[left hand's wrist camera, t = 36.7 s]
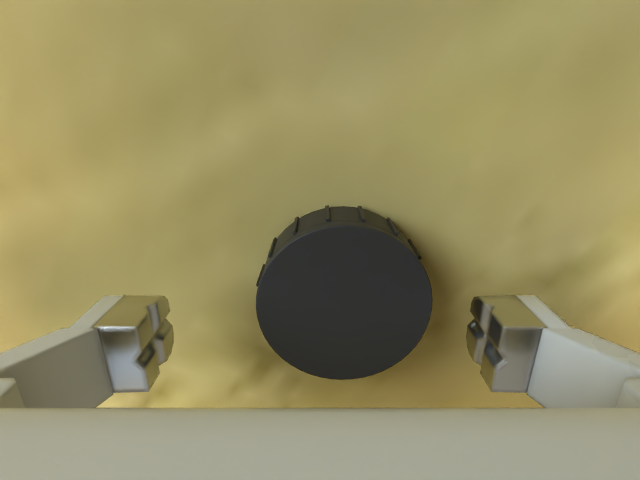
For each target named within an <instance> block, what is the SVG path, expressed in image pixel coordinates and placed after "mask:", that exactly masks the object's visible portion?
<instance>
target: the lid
mask: <svg viewBox="0 0 640 480" xmlns="http://www.w3.org/2000/svg"><path fill="white" fill-rule="evenodd" d="M420 259H421V256H420V255H419V253H418V252H417V250H416V248H415V247H414V245H413V244H412V242H411V240H410V239H409V240H407V239H406V238H405V236H404V235H403V234H402V233H401V231H400V230H399V229H398V228H397V227H395V226H394V224H393V222H392V221H391V219H390V218H387V220H386V219H385V218H384V217H382V216H380V215H378V214H376V213H373V212H370V211H367V210H365V209H362V206H358V208H355V207H330V208H329V205H328V206H325V209H320V210H317V211H314V212H311V213H309V214H307V215H305V216H303V217H301V218H299V217H296V218H295V222H293V223H292V224H291V225H290V226H288V227H287V228H286V229H285V230H284V231H283V232H282V233H281V235H280V236H279V237H278V238H274V240H273V243H272V245H271V248H270V251H269V254H268V258H267V261H266V264H263V267H262V270H261V272H260V275H259V278H258V281H257V285H256V286H258V289H257V295H256V311H257V318H258V322H259V325H260V328H261V330H262V332H263V335H264V337H265V338H266V340H267V341H268V343H269V345H270V346H271V347H272V348H273V350H274V351H275V352H276V353H277V354H278V355H279V356H280V357H281V358H282V359H284V360H285V361H286V362H288V363H289V364H290V365H292V366H294V367H296V368H297V369H299V370H301V371H304V372H306V373H308V374H311V375H315V376H318V377H322V378H328V379H339V380H344V379H356V378H363V377H367V376H371V375H374V374H376V373H379V372H382V371H384V370H386V369H388V368H390V367H392V366H393V365H395V364H396V363H398V362H399V361H401V360H402V359H403V358H404V357H406V356H407V355H408V354H409V353H410V352H411V351H412V350H413V349H414V348H415V346H416V345H417V344H418V342H419V341H420V339H421V338H422V336H423V334H424V332H425V330H426V328H427V325H428V323H429V320H430V315H431V311H432V290H431V285H430V281H429V278H428V276H427V273H426V271H425V269H424V267H423V265H422V264H421V262H420V261H419V260H420Z"/></svg>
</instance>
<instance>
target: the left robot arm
mask: <svg viewBox="0 0 640 480" xmlns="http://www.w3.org/2000/svg"><path fill="white" fill-rule="evenodd" d="M169 312H170V308H169V303H168V300H167V298H166V297H165V296H139V295H127V296H126V295H108V296H104V297H102V298H101V299H100V300H99V301H98V302H97V303H96V304H95V305H94V306H93V307H91V308H90V309H89V310H88V311H87V312H86V313H85V314H84V315H83V316H82V317H80V318H79V319H78V320H77V321H76V322H75V323H74V324H73V325H72V326H71V327H69V328H62V329H59V330H57V331H54V332H52V333H49V334H47V335H44V336H42V337H39V338H37V339H34V340H32V341H29V342H27V343H25V344H22V345H20V346H17V347H15V348H12V349H10V350H7V351H5V352H2V353H0V480H640V353H637V352H635V351H633V350H630V349H628V348H625V347H623V346H620V345H618V344H615V343H613V342H610V341H608V340H605V339H603V338H601V337H598V336H596V335H593V334H591V333H588V332H586V331H583V330H581V329H578V328H571V327H569V326H568V325H567V324H566V323H565V322H564V321H563V320H562V319H561V318H560V317H558V316H557V315H556V314H555V313H554V312H553V311H552V310H551V309H550V308H549V307H548V306H546V305H545V304H544V303H543V302H542V301H541V300H540V299H539V298H538V297H537V296H534V295H505V296H476V297H474V298H473V300H472V302H471V308H470V312H471V313H472V315H473V316H474V319H473V320H472V321H471V322H470V323H469V325H468V326H467V334H466V339H467V348H468V351H469V354H470V356H471V358H472V359H473V361H474V362H476V363H478V364H479V365H481V371H480V373H481V375H482V377H483V378H484V380H485V382H486V384H487V385H488V387H489V389H490V390H491V392H519V393H527V395H528V396H530V397H531V398H532V399H534V400H535V401H536V402H538V403H539V404H540V405H542V406H543V407H544V408H96V407H97V406H98V405H100V404H101V403H102V402H104V401H105V400H106V399H108V398H109V397H110V396H112V395H113V393H121V392H149V390H150V389H151V387H152V385H153V384H154V382H155V380H156V378H157V377H158V375H159V373H160V371H159V365H161V364H162V363H164V362H166V361H167V359H168V358H169V356H170V354H171V351H172V347H173V341H174V333H173V326H172V325H171V324H170V322H169V321H168V320H167V319H166V316H167V315H168V313H169Z"/></svg>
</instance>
